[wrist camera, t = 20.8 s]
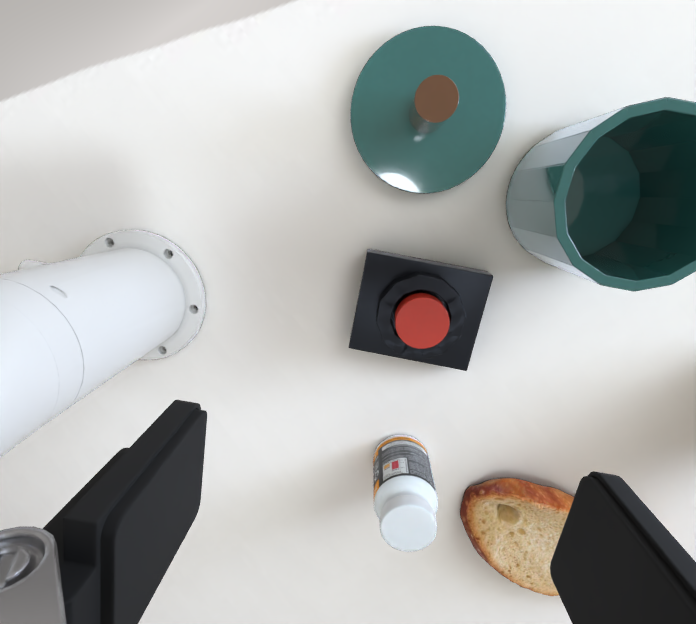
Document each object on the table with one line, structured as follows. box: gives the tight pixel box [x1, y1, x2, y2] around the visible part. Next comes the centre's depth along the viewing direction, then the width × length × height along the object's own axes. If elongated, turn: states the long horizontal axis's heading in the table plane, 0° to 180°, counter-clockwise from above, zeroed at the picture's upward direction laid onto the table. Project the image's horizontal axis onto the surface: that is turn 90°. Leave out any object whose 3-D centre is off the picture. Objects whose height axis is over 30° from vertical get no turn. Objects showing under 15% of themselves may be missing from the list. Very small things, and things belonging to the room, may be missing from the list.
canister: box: [506, 97, 696, 291], centre depth 31 cm, size 11×11×10 cm
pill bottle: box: [373, 435, 438, 552], centre depth 39 cm, size 6×6×10 cm
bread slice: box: [460, 478, 574, 596], centre depth 43 cm, size 18×18×4 cm
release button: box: [394, 293, 450, 349], centre depth 35 cm, size 4×4×2 cm
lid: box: [351, 26, 506, 193], centre depth 32 cm, size 12×12×7 cm
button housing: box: [349, 249, 493, 371], centre depth 38 cm, size 11×9×4 cm
